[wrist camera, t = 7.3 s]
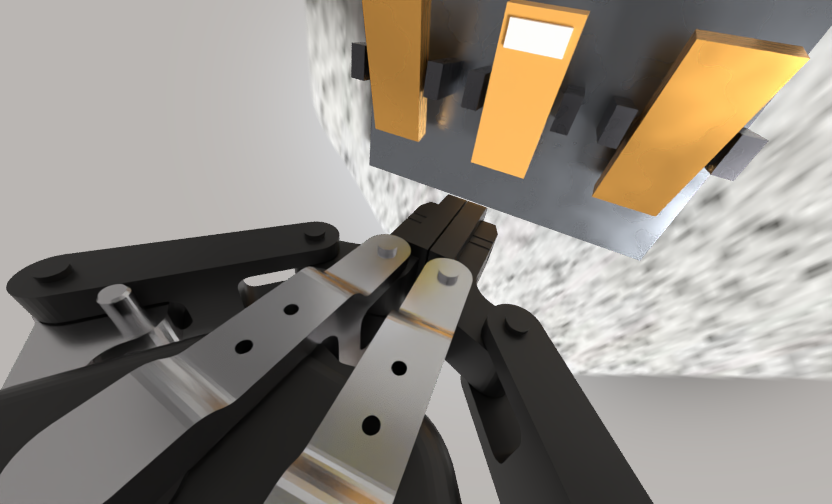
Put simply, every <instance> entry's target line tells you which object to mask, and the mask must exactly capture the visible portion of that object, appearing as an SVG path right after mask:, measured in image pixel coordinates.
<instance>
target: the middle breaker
mask: <svg viewBox="0 0 832 504" xmlns="http://www.w3.org/2000/svg"><path fill="white" fill-rule="evenodd" d="M589 13H590V11H587V10H581V9H575V8H569V7H563V6H556V5H550V4H544V3H538V2H532V1H526V0H510V1H508V2H507V5H506V10H505V14H504V19H503V23H502V27H501V32H500V36H499V41H498V45H497V50H496V54H495V58H494V63H493V67H492V72H491V76H490V80H489V85H488V89H487V94H486V98H485V102H484V107H483V111H482V116H481V120H480V124H479V129H478V133H477V138H476V142H475V146H474V151H473V155H472V160H471V162H472V163H475V164H479V165H482V166H485V167H488V168H491V169H494V170H497V171H501V172H504V173H507V174H510V175H513V176H516V177H519V178H523V179H524V176H525V174H526V172H527V170H528V167H529V165H530V162H531V160H532V157H533V155H534V152H535V150H536V147H537V145H538V142H539V140H540V137H541V135H542V132H543V129H544V127H545V124H546V122H547V119H548V117H549V114H550V112H551V109H552V107H553V104H554V102H555V99H556V97H557V94H558V92H559V89H560V86H561V84H562V81H563V79H564V76H565V74H566V71H567V69H568V66H569V64H570V61H571V59H572V56H573V54H574V51H575V49H576V46H577V43H578V41H579V38H580V36H581V33H582V31H583V28H584V26H585V23H586V21H587V18H588V16H589Z"/></svg>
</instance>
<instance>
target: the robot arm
mask: <svg viewBox="0 0 832 504" xmlns="http://www.w3.org/2000/svg"><path fill="white" fill-rule="evenodd" d="M486 212H487V208H486V207H483V206H481V205H478V204H475V203H472V202H469V201H468V202H467V201H466V200H463V199H461V198H458V197H455V196H452V195H449V194H448V195H447V196H446V197H445V198H444V199H443V200H442V201H441V203H440V204H436V203H433V202H429V203H426V204H423V205H421V206H419V207H418V208H417V209H416V210H415V211H414V213H412V214H411V215H410V216H409V217H408V219H406V220H405V221H404V222H403V223H402V224H401V225H400V226H399V227H398V228H396V229H395V230H394V231H393V232H392V233H391V234H390V235H389V234H381V235H376V236H373V237H371V238H369V239H368V240H366V241H365V242H364V243H362V244H355V243H349V242H344V241H339V232H338V230H337V229H336V228H335V227H334V226H332V225H330V224H328V223H324V222H307V223H300V224H292V225H284V226H277V227H270V228H262V229H254V230H246V231H239V232H231V233H223V234H216V235H208V236H201V237H194V238H186V239H178V240H171V241H163V242H155V243H148V244H140V245H133V246H125V247H117V248H110V249H102V250H94V251H88V252H79V253H72V254H64V255H59V256H54V257H50V258H47V259H44V260H41V261H38V262H36V263H33V264H31V265H29V266H27V267H25V268H24V269H22V270H21V271H19V272H17V273H16V274H15V275H14V276H13V277H12V278H11V279H10V280H9V281H8V283H7V287H6V289H7V291H8V293H9V294H10V295H11V296H12V297H13V298H14V299H15V300H16V301H17V302H19V303H20V304H21V305H22V306H23V307H24V308H25V309H26V310H27V311H28V312H29V313H30V314H31V315H32V318H33V320H34V321H35V325H34V327H33V329H32V331H31V333H30V335H29V337H28V339H27V341H26V343H25V345H24V347H23V349H22V350H21V353H20V354H19V356H18V358H17V360H16V362H15V364H14V366H13V368H12V369H11V372H10V373H9V375H8V377H7V379H6V381H5V383H4V385H3V387H2V389H1V390H0V504H462V503H461V498H460V493H459V489H458V484H457V480H456V475H455V471H454V467H453V463H452V461H451V458H450V455H449V452H448V449H447V447H446V445H445V443H444V441H443V439H442V437H441V435H440V434H439V432H438V430H437V429H436V427H435V426H434V424H433V423H432V422H431V420H430V419H429V418H428V417H427V416H426V415H425V412H426V409H427V406H428V404H429V401H430V398H431V396H432V393H433V390H434V387H435V384H436V382H437V379H438V376H439V373H440V371H441V368H442V365H443V362H444V360H446V361H447V362H448V363H449V364H450V365H451V366H452V367H453V368H454V369H455V370H456V371H457V372H458V373H459V374H460V375H461V384H462V388H463V391H464V394H465V397H466V400H467V403H468V407H469V410H470V413H471V416H472V419H473V421H474V425H475V428H476V431H477V434H478V437H479V440H480V443H481V446H482V449H483V452H484V455H485V458H486V461H487V464H488V467H489V470H490V473H491V476H492V480H493V483H494V485H495V489H496V492H497V495H498V498H499V501H500V504H653V502H652V500H651V499H650V497H649V496H648V494H647V492H646V491H645V490H644V488H643V486H642V485H641V483H640V481H639V480H638V478H637V477H636V475H635V474H634V472H633V470H632V469H631V467H630V465H629V464H628V462H627V461H626V459H625V457H624V456H623V454H622V453H621V451H620V449H619V448H618V446H617V445H616V443H615V442H614V440H613V438H612V437H611V435H610V434H609V432H608V430H607V429H606V427H605V426H604V424H603V423H602V421H601V419H600V418H599V416H598V414H597V413H596V411H595V410H594V408H593V407H592V405H591V403H590V402H589V400H588V399H587V397H586V395H585V394H584V392H583V391H582V389H581V387H580V386H579V384H578V383H577V381H576V379H575V378H574V376H573V375H572V373H571V371H570V370H569V368H568V367H567V365H566V363H565V362H564V360H563V359H562V357H561V355H560V354H559V352H558V351H557V349H556V348H555V346H554V344H553V343H552V341H551V340H550V338H549V336H548V335H547V333H546V332H545V330H544V328H543V327H542V325H541V324H540V322H539V321H538V320H537V319H536V317H535V316H534V315H532V314H531V313H530V312H528V311H527V310H525V309H523V308H521V307H519V306H516V305H512V304H500V305H497V306H494V305H493V304H492V303H490V302H489V301H488V300H487V299H485V298H484V296H483V295H482V294H481V293H480V291H479V289H478V287H477V283H478V281H479V279H480V277H481V274H482V272H483V270H484V268H485V266H486V263H487V261H488V258H489V256H490V253H491V251H492V248H493V245H494V243H495V240H496V238H497V235H498V234H497V229H496V225H493V224H490V223H488V222H485V221H484V218H485V215H486ZM293 268H295V275H293V276H292V277H291V278H289V279H288V280H286V281H281V282H276V283H271V284H266V285H261V286H249V285H247V284H246V283H245V282H244V281H243V279H245V278H248V277H251V276H257V275H262V274H267V273H272V272H278V271H283V270H288V269H293Z"/></svg>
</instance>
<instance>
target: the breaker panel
mask: <svg viewBox="0 0 832 504" xmlns="http://www.w3.org/2000/svg"><path fill="white" fill-rule="evenodd" d="M508 1H510V0H362V6H363V15H364V25H365V34H366V43H352V69H351V77H352V78H355V79H359V80H363V81H365V80H370V81H371V90H372V100H373V104H372V124H371V144H370V164H369V165H371V166H374V167H377V168H379V169H382V170H385V171H388V172H391V173H394V174H396V175H399V176H402V177H405V178H408V179H411V180H413V181H416V182H419V183H422V184H425V185H428V186H430V187H433V188H436V189H439V190H442V191H444V192H447V193H450V194H453V195H456V196H459V197H461V198H464V199H467V200H470V201H473V202H476V203H478V204H481V205H484V206H487V207H490V208H493V209H495V210H498V211H501V212H504V213H507V214H510V215H512V216H515V217H518V218H521V219H524V220H527V221H529V222H532V223H535V224H538V225H541V226H544V227H546V228H549V229H552V230H555V231H558V232H561V233H563V234H566V235H569V236H572V237H575V238H578V239H580V240H583V241H586V242H589V243H592V244H595V245H597V246H600V247H603V248H606V249H609V250H612V251H614V252H617V253H620V254H623V255H626V256H628V257H631V258H634V259H637V260H641V259H642V257H643V256H644V255H645V254H646V253H647V251H648V250H649V249H650V248H651V246H652V245H653V244H654V243H655V242H656V240H657V239H658V238H659V237H660V235H661V234H662V233H663V232H664V231H665V229H666V228H667V227H668V226H669V224H670V223H671V222H672V221H673V219H674V218H675V217H676V216H677V215H678V213H679V212H680V211H681V210H682V208H683V207H684V206H685V205H686V204H687V202H688V201H689V200H690V199H691V197H692V196H693V195H694V194H695V192H696V191H697V190H698V189H699V188H700V186H701V185H702V184H703V183H704V181H705V180H706V179H707V178H708V177H709V175H714V176H717V177H721V178H725V179H729V180H732V181H734V180H735V178H736V177H737V176H738V175H739V174H740V173H741V172H742V170H743V169H744V168H745V167H746V166H747V165H748V164H749V163H750V161H751V160H752V159H753V158H754V157H755V156H756V155H757V153H758V152H759V151H760V150H761V149H762V148H763V147H764V145H765V144H766V143H767V142H768V140H767V139H765V138H763V137H761V136H759V135H758V134H756V133H754V132H752V131H750V130H749V129H748V127H749V126H750V125H751V124H752V123H753V121H754V120H755V119H756V118H757V116H758V115H759V114H760V113H761V111H762V110H763V109H764V108H765V107H766V105H767V104H768V103H769V102H770V100H771V99H772V98H773V97H774V96H775V94H776V93H777V92H778V91H779V90H780V89H781V88H782V87H783V86H784V85H785V84H786V83H787V82H788V81H789V80H790V79H791V78H792V77H793V76H794V74H795V73H796V72H797V71H798V70H799V69H800V68H801V67H802V66H803V65H804V64H805V63H806V62H807V61H808V60H809V59H810V58H809V56H808V54H809V53H810V51H811V50H812V49H813V48H814V46H815V45H816V44H817V43H818V42H819V40H820V39H821V38H822V37H823V35H824V34H825V33H826V32H827V30H828V29H829V28H830V27H831V26H832V0H526V1H532V2H538V3H544V4H550V5H556V6H563V7H569V8H575V9H581V10H587V11H590V13H589V16H588V18H587V21H586V23H585V26H584V28H583V31H582V33H581V36H580V38H579V41H578V43H577V46H576V49H575V51H574V54H573V56H572V59H571V61H570V64H569V66H568V69H567V71H566V74H565V76H564V79H563V81H562V84H561V86H560V89H559V92H558V94H557V97H556V99H555V102H554V104H553V107H552V109H551V112H550V114H549V117H548V119H547V122H546V124H545V127H544V129H543V132H542V135H541V137H540V140H539V142H538V145H537V147H536V150H535V152H534V155H533V157H532V160H531V162H530V165H529V167H528V170H527V172H526V174H525V176H524V179H523V178H519V177H516V176H513V175H510V174H507V173H504V172H501V171H497V170H494V169H491V168H488V167H485V166H482V165H479V164H475V163H472V162H471V160H472V155H473V151H474V146H475V142H476V138H477V133H478V129H479V124H480V120H481V116H482V111H483V107H484V102H485V98H486V94H487V89H488V85H489V80H490V76H491V72H492V67H493V63H494V58H495V54H496V50H497V45H498V41H499V36H500V32H501V27H502V23H503V19H504V14H505V10H506V5H507V2H508Z"/></svg>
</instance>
